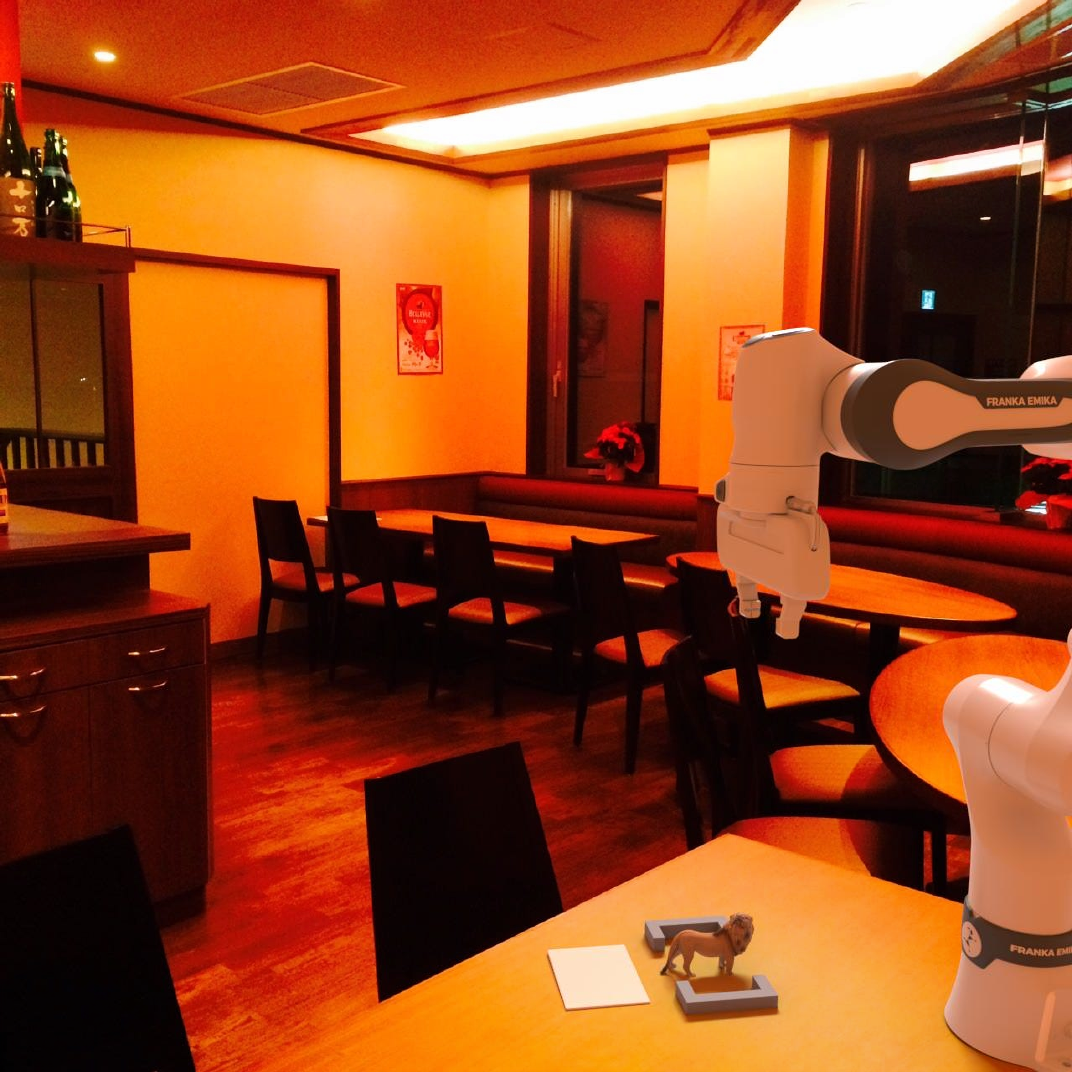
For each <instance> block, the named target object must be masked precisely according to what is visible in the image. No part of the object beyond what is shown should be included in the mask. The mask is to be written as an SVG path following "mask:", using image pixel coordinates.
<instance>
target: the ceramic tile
mask: <svg viewBox="0 0 1072 1072" xmlns="http://www.w3.org/2000/svg"><path fill="white" fill-rule="evenodd" d="M547 956H548V959H549V962H550V965H551V968H552V971H553V975H554V978H555V981H556V984H557V986H558V990H559V992H560V995H561V996H560V997H561V999H562V1002H563V1006H564V1008H565V1011H575V1010H577V1011H578V1010H585V1009H596V1008H610V1007H622V1006H632V1005H633V1006H635V1005H645V1004H651V1001H650V999H649V996H648V994H647V992H646V990H645V987H644V985H643V984H642V980H641V978H640V976H639V975H638V972H637V969H636V967H635V965H634V963H633V960H632V958H631V957H630V954H629V952H628V949H627V948H626V946H625V944H611V945H595V946H584V947H583V946H581V947H570V948H569V947H568V948H557V949H555V948H553V949H547Z"/></svg>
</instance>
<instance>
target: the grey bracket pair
mask: <svg viewBox="0 0 1072 1072" xmlns="http://www.w3.org/2000/svg"><path fill="white" fill-rule="evenodd" d="M728 921H729V920H728V918H727V916H726V915H712V916H699V917H698V916H697V917H684V918H683V917H682V918H671V919H670V918H669V919H656V920H655V919H654V920H645V921H644V937H645V938H646V941H647V942H648V944H649V946H650V948H651V950H652V952H653V953H656V952H665V951H666V950H665V949H666V940H671V939H674V938H675V936H676V935H677V934H679V933H680V932H682V931H684V930H693V931H697V932H700V933H714V932H717V931H718V930H719V929H721V928H722V927H723V925H724V924H726V923H727V922H728ZM751 978H752V979H751V989H749V990H748V989H747V990H737V991H725V992H724V991H723V992H711V993H700V994H699V993H698V994H696V993H695V991H694V989H693V987H692V986H691V983H690V981H689V980H677V981H675V992H674V993H675V995H676V998H677V999H678V1002H679V1004H680V1006H681V1007H682V1010H683V1012H684V1013H685V1015H686V1016H691V1015H703V1014H714V1013H715V1014H716V1013H723V1012H725V1013H726V1012H737V1011H747V1010H748V1011H750V1010H751V1011H752V1010H761V1009H772V1008H773V1009H774V1008H778V1007H779V994H778V993H777V991H776V990H775V988H774V987H773V985H772V984H771V982H770V981H769V979H768V978H767V977H766V975H765V974H754V975H752V976H751Z"/></svg>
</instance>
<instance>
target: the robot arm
mask: <svg viewBox="0 0 1072 1072" xmlns="http://www.w3.org/2000/svg"><path fill="white" fill-rule="evenodd" d="M733 379H734V380H733V386H732V398H731V399H732V400H731V415H730V416H731V417H730V418H731V424H732V428H733V433H734V439H733V440H734V442H733V447H732V450H731V453H730V455H729V456H730V458H729V467H728V468H729V471H728V472H727V473H726V474H725V476H723V477H722V478H720V479H718V480H717V481H716V482H715V483H714V486H713V487H714V488H713V496H714V501H715V502H717V503H719V505H718V507H717V514H716V537H717V538H716V543H717V544H716V545H717V546H716V547H717V556H718V561H719V562H720V565H721V567H723V568H725V569H727V570H729V571H731V572H733V573H735V578H734V581H735V582H734V583H735V587H736V589H737V595H738V599H739V611H738V612H739V614H740V615H741V616H743V617H745V618H747V619H756V618H759V617H760V615H761V604H762V602H761V601H760V600H759V595H758V589H757V588H758V587H757V585H758V584H759V585H762V586H764V587H766V588H767V589H770V590H772V591H775V592H776V593H778V594H780V599H779V600H780V601H779V603H780V604H781V605H782V607H781V611H780V616H779V617H776V618H775V620H776V621H775V634H776V635H777V636H779V637H781V638H783V639H784V640H788V639H789V640H790V639H791V640H793V639H797V638H798V637H799V635H800V634H799V633H800V621H801V619H802V617H803V614H804V613H805V609H806V608H807V601H816V600H817V601H818V600H824V599H825V598H826V597H827V595H828V593H829V591H830V589H831V550H830V549H831V546H830V536H829V535H830V534H829V528H828V527H827V524H826V523H825V522H824V520H823V519H822V516H821V515H819V512H818V505H819V486H820V485H819V484H820V463H821V457H822V455H823V454H825V453H830V454H832V455H835V456H836V457H837V456H838V457H841V458H847V459H852V460H857V461H862V462H868V463H873V464H877V465H880V466H883V467H885V468H886V467H887V468H889V469H893V470H900V471H902V470H903V471H910V470H916V469H919V468H923V467H926V466H928V465H931V464H933V463H935V462H937V461H940V460H941V459H943V458H945V457H947V456H950V455H951V454H953V453H955V452H958V451H961V450H963V449H968V448H974V447H975V448H976V447H977V448H978V447H993V446H994V447H996V446H997V447H999V446H1020V445H1021V447H1023V448H1024V450H1025V451H1027V452H1028V453H1029V454H1032V455H1035V456H1036V455H1037V456H1039V457H1040V456H1041V457H1046V458H1052V459H1059V460H1071V461H1072V355H1065V356H1059V357H1054V358H1049V359H1046V360H1041V361H1040V360H1039V361H1037V362H1034V363H1033V364H1031V365H1030V366H1028V368H1027V369H1026V370H1024V372H1023V373H1022V375H1020V377H1019V378H995V379H994V378H993V379H992V378H990V379H989V378H988V379H987V378H984V379H983V378H982V379H981V378H979V379H975V378H974V379H973V378H965V377H962V376H959V375H957V374H955V373H952V372H951V371H949V370H946V369H945V368H943V367H941V366H939V365H936V364H935V363H931V362H930V361H925V360H921V359H916V358H903V359H897V360H891V361H888V362H887V361H886V362H865V360H863V359H860V358H858V357H855V356H853V355H851V354H849V353H847V352H845V351H843V350H842V349H839V348H838V347H836V346H835V345H833V344H832V343H830V342H829V341H828V340H826V339H825V338H823V336H821V334H820V333H819V332H818V330H817V329H814V328H810V327H797V328H789V329H785V330H784V329H782V330H777V331H770V332H765V333H761V334H757V335H754V336H752V337H750V338H749V339H748V340H747V341H746V342H744V344H743V345H742V346H741V348H740V349H739V353H738V355H737V360H736V365H735V369H734V377H733ZM1067 649H1068V653H1069V655H1070V659H1069V663H1068V665H1067V668H1066V669H1065V672H1064V673H1063V675H1062V677H1061V678H1060V680H1059V681H1058V683H1057V684H1056V685H1055V686H1054V687H1053V688H1052V689H1051V690H1049V691H1046V690H1044V689H1041V688H1039V687H1037V686H1035V685H1032V684H1030V683H1028V682H1026V681H1024V680H1021V679H1019V678H1016V677H1012V676H1005V675H997V674H989V673H987V674H986V673H985V674H984V673H982V674H981V673H979V674H973V675H971V676H969V677H966V678H964V679H963V680H961V681H960V682H959V683H957V684H956V685H955V686H954V687H953V688H952V690H951V691H950V692H949V694H948V695H947V697H946V699H945V702H944V705H943V710H942V724H943V727H944V730H945V733H946V735H947V736H948V739H949V741H950V742H951V745H952V747H953V748H954V752H955V754H956V755H955V756H956V757H957V761H958V765H959V769H960V773H961V778H962V783H963V789H964V794H965V799H966V804H967V809H968V816H969V817H968V818H969V824H970V826H969V827H970V837H971V838H970V839H971V840H970V842H971V843H970V863H969V864H970V866H969V882H968V893H967V895H965V897H964V900H963V907H962V908H963V909H962V915H961V916H962V918H961V929H960V930H961V931H960V933H961V935H960V937H961V956H960V961H959V964H958V965H959V966H958V970H957V973H956V978H955V981H954V984H953V987H952V990H951V992H950V994H949V997H948V1000H947V1002H946V1003H945V1007H944V1009H943V1015H944V1018H945V1022H946V1024H947V1025H948V1027H949V1028H950V1029H951V1031H952V1032H953V1033H954V1034H955V1035H956V1036H957V1037H958V1038H959V1039H961V1040H962V1041H964V1043H966V1044H967V1045H969V1046H970V1047H972V1048H973V1049H976V1050H978V1051H980V1052H981V1053H983V1054H986V1055H987V1056H989V1057H992V1058H996V1059H998V1060H1000V1061H1003V1062H1006V1063H1010V1064H1015V1065H1018V1066H1022V1067H1024V1068H1025V1067H1026V1068H1028V1069H1032V1070H1033V1071H1036V1072H1072V828H1071V826H1070V824H1069V821H1068V817H1069V818H1072V628H1071V629H1070V631H1069V633H1068V636H1067Z"/></svg>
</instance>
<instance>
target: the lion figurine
mask: <svg viewBox="0 0 1072 1072" xmlns="http://www.w3.org/2000/svg"><path fill="white" fill-rule="evenodd" d="M753 919H754V918H753V917H752V916H751V915H750V914H747V913H745V912H743V911H739V912H736V913H733V914H730V915H729V920H728V922H727V923H726V924H724V925H723V927H722V928H721V929H719V930H718V931H717V932H714V933H700V932H697V931H693V930H684V931H682V932H680V933H679V934H677V935H676V936H675V938H672V939H673V940H672V941H671V944H670V947H669V951H668V954H667V959H666V963H665V964H664V966H663V967H662V969H661V971H660V972H659V973H660V974H665V973H666V972H667V970H668V969H675V968H676V967H677V964H676V963H673V962H674V960H675V959H676V958H677V957H679V956H680V955H681V956H682V958H683V964H682V970H683V971H684V973H685V975H686V976H687V977H689V978H696V977H697V974H696V973H695V972H694V973H693V972H691V964H692V963H693V962H692V961H693V959H694V958H695V953H697V954H699V956H700V955H701V957H705V958H711V959H712V958H718V967H720V968H722V969H723V968H725V973H726V975H728V976H730V975H731V976H732V975H734V972H733V968H734V964H735V962H734V961H735V957H738V956H740V955H743V954H744V953H745V952H746V950H747V948H748V946H749V945H750V943H751V942H752V939H753V938H752V937H753V935H754V932H755V927H754V924H753V921H754V920H753Z"/></svg>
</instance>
